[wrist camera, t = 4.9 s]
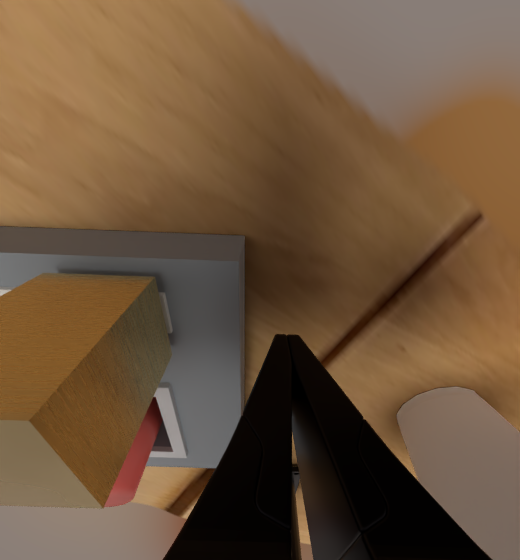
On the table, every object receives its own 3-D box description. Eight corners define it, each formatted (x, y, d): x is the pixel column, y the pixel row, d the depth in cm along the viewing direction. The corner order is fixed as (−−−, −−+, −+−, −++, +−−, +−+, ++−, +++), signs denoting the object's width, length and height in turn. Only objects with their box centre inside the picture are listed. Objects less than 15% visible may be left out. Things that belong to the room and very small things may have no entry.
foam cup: (354, 412, 18) (504, 842, 7) (470, 353, 15) (1167, 1022, 3) (414, 452, 21) (588, 794, 10) (522, 410, 18) (979, 862, 6)
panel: (244, 426, 19) (241, 473, 16) (-13, 418, 19) (-62, 464, 16) (244, 235, 11) (238, 264, 8) (-214, 218, 11) (-388, 241, 8)
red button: (178, 405, 17) (144, 508, 12) (113, 403, 17) (51, 505, 12) (167, 360, 15) (119, 465, 10) (91, 357, 15) (2, 462, 10)
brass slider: (172, 354, 10) (103, 508, 6) (82, 351, 10) (-56, 503, 6) (155, 276, 8) (28, 420, 4) (43, 272, 8) (-215, 412, 4)
